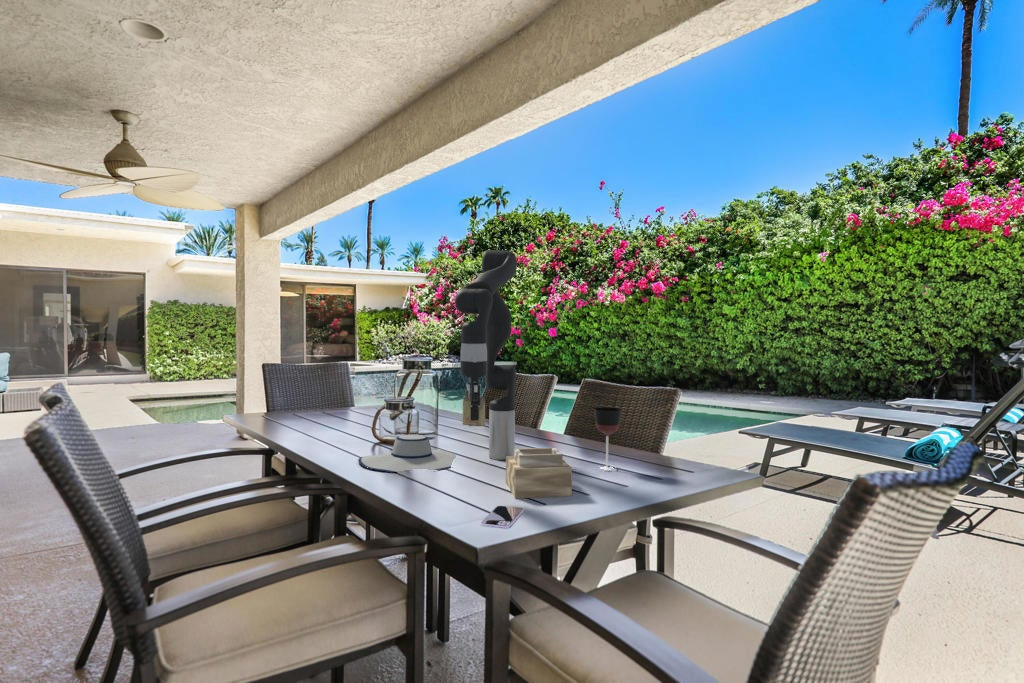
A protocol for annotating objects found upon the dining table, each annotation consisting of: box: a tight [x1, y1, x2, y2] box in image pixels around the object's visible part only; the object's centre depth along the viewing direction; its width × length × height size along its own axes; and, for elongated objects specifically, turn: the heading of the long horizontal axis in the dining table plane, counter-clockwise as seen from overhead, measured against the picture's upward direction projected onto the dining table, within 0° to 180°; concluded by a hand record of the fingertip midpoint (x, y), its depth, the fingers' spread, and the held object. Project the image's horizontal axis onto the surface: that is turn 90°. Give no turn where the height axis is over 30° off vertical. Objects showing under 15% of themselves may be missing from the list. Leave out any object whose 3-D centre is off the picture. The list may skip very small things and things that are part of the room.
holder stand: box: [505, 447, 573, 499], centre depth 170 cm, size 16×16×11 cm
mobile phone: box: [479, 505, 525, 529], centre depth 145 cm, size 8×1×15 cm
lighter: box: [461, 389, 486, 427], centre depth 167 cm, size 7×4×10 cm, turn 61°
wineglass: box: [593, 406, 622, 470], centre depth 194 cm, size 8×9×20 cm
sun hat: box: [357, 434, 456, 473], centre depth 205 cm, size 36×36×9 cm
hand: (473, 418), depth 167 cm, fingers closed on lighter, 5 cm apart
